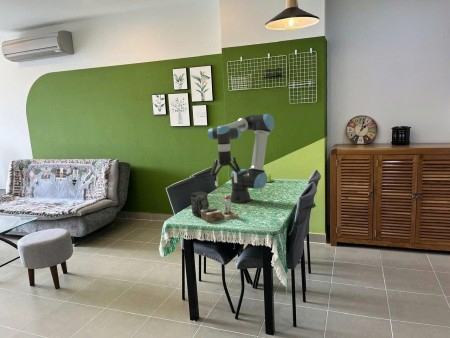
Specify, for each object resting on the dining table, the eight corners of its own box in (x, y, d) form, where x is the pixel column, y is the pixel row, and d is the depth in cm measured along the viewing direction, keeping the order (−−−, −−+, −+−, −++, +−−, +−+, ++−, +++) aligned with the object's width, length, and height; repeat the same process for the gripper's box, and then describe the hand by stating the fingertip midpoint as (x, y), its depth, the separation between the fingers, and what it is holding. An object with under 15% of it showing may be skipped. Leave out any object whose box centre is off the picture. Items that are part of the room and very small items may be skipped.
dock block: (215, 215, 220) (214, 207, 219) (222, 219, 212) (221, 210, 211) (201, 218, 216) (200, 210, 215) (208, 222, 207) (207, 214, 206)
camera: (199, 218, 216) (197, 196, 213) (190, 215, 224) (188, 193, 222) (212, 215, 222) (210, 192, 219) (203, 211, 230) (202, 190, 228)
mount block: (231, 213, 223) (231, 210, 223) (238, 216, 215) (238, 213, 215) (219, 216, 219) (218, 213, 219) (225, 219, 211) (225, 216, 211)
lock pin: (229, 215, 219) (228, 195, 217) (232, 216, 216) (231, 196, 214) (224, 216, 218) (223, 196, 215) (227, 217, 215) (226, 197, 212)
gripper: (238, 148, 218) (240, 180, 222) (203, 152, 207) (205, 186, 211) (244, 149, 212) (246, 182, 215) (208, 153, 200) (211, 188, 204)
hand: (226, 184), depth 213 cm, fingers open, 13 cm apart
